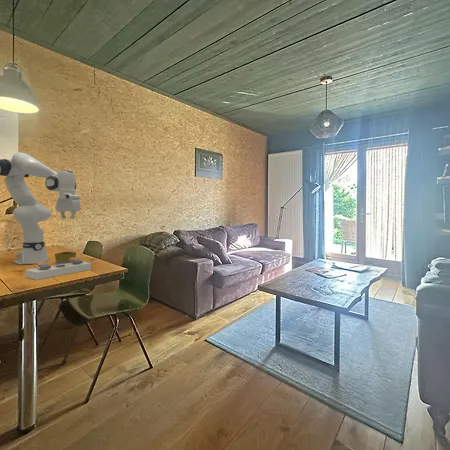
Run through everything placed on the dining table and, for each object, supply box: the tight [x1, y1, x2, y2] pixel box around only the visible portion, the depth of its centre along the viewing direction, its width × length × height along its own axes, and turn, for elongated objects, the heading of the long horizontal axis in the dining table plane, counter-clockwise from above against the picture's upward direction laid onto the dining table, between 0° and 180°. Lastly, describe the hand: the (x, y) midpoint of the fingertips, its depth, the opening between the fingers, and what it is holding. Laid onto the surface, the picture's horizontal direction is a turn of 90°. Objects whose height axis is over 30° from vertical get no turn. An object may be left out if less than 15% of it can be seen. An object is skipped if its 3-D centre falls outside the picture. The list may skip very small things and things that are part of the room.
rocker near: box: [34, 262, 52, 269], centre depth 143 cm, size 8×4×1 cm, turn 60°
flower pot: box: [54, 251, 77, 265], centre depth 170 cm, size 9×9×9 cm
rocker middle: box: [52, 260, 68, 266], centre depth 151 cm, size 8×4×1 cm, turn 60°
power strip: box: [24, 261, 92, 281], centre depth 153 cm, size 12×34×4 cm, turn 150°
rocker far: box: [69, 257, 84, 264], centre depth 159 cm, size 8×4×1 cm, turn 60°
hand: (67, 218), depth 163 cm, fingers open, 8 cm apart
